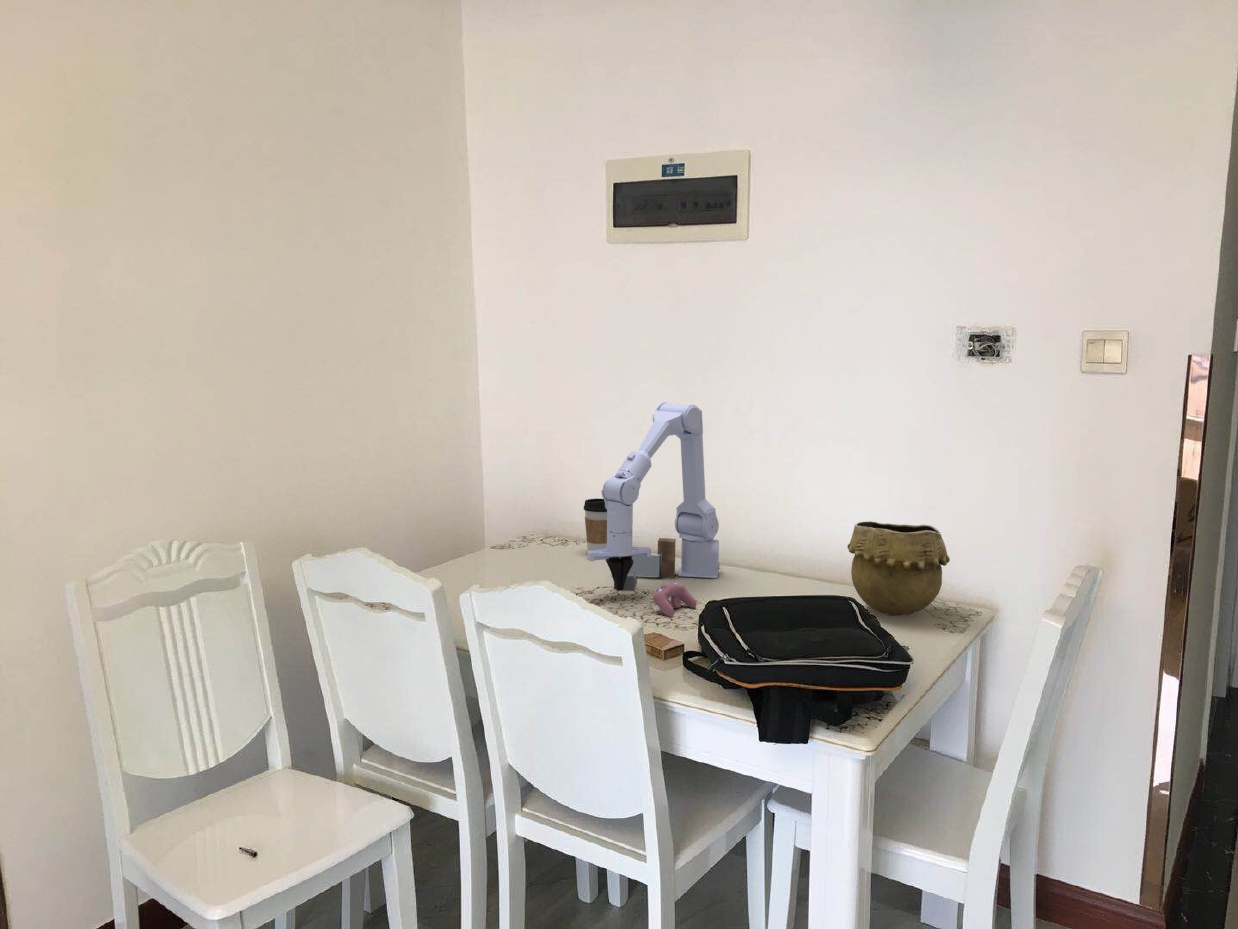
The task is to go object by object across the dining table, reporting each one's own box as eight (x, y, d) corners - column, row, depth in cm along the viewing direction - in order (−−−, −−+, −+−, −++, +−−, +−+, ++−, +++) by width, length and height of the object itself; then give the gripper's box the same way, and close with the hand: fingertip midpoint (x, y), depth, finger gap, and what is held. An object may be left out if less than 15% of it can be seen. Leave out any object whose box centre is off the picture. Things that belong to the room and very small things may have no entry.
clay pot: (851, 595, 222) (855, 510, 219) (948, 605, 214) (954, 517, 211) (837, 620, 203) (841, 527, 200) (943, 633, 195) (949, 536, 192)
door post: (674, 574, 238) (675, 538, 237) (672, 579, 234) (673, 543, 232) (658, 573, 239) (659, 538, 238) (656, 578, 234) (657, 542, 233)
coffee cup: (601, 559, 252) (602, 503, 250) (576, 555, 257) (577, 499, 255) (620, 554, 259) (621, 499, 256) (596, 549, 264) (596, 495, 261)
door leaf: (660, 574, 236) (660, 553, 235) (659, 576, 234) (659, 555, 233) (613, 572, 237) (613, 551, 237) (611, 574, 235) (612, 553, 235)
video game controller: (684, 611, 213) (673, 581, 214) (699, 606, 210) (688, 575, 211) (657, 622, 206) (646, 590, 207) (672, 616, 203) (661, 585, 204)
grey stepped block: (636, 583, 231) (637, 569, 230) (633, 591, 224) (633, 576, 223) (618, 582, 231) (618, 568, 231) (613, 590, 225) (614, 575, 224)
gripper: (644, 525, 222) (643, 582, 224) (583, 528, 217) (583, 587, 219) (654, 531, 215) (653, 590, 217) (592, 535, 210) (592, 595, 212)
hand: (619, 589), depth 218 cm, fingers closed
